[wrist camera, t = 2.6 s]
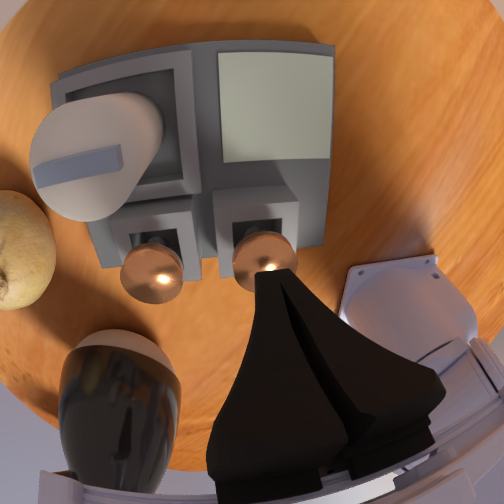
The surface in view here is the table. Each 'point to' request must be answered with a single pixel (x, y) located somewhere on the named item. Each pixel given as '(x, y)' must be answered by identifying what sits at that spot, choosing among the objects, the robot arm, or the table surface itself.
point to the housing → (221, 146)
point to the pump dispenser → (118, 412)
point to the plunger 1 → (152, 272)
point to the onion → (24, 251)
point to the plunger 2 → (261, 255)
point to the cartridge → (95, 153)
